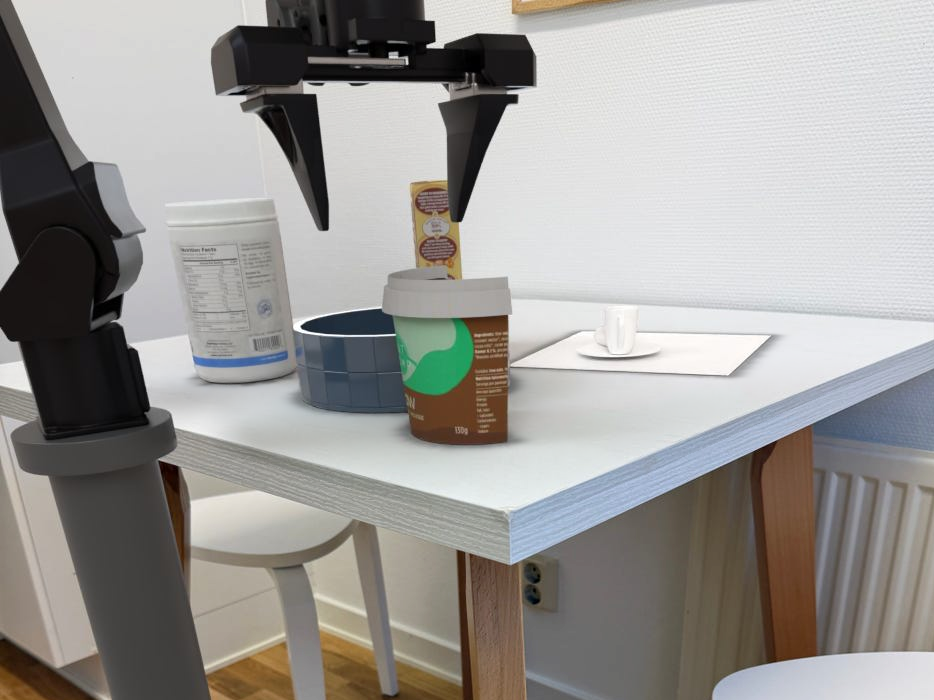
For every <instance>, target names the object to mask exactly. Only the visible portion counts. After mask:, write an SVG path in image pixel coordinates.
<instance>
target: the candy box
mask: <svg viewBox="0 0 934 700" xmlns="http://www.w3.org/2000/svg"><path fill="white" fill-rule="evenodd" d="M409 195H410V196H409V197H410V209H411V225H412V238H413V251H414V261H415V262H414V263H415V264H414V265H415V268H422V267H431V266H443V265H446V266H447V276H448V280H458V279H463V268H462V253H461V252H462V251H461V250H462V249H461V237H460V236H461V235H460V222H458V223H455V222H451V220H450V214H449V206H448V196H447V179H432V180H431V179H430V180H423V181H421V180H420V181H415V182H413V181H412V182H411V183H409Z"/></svg>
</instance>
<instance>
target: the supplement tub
mask: <svg viewBox="0 0 934 700" xmlns="http://www.w3.org/2000/svg"><path fill="white" fill-rule="evenodd" d="M164 211H165V212H164V213H165V216H166V217H165V218H166V221H165V224H166V226H167V228H166V229H167V235H168V239H169V245H170V250H171V255H172V259H173V265H174V270H175V274H176V280H177V285H178V289H179V295H180V302H181V305H182V310H183V315H184V320H185V325H186V330H187V335H188V340H189V345H190V351H191V356H192V360H193V364H194V369H195V373H196V374H197V376H198V377H200V378H201V379H202V380H204V381H207V382H210V383H218V384H242V383H243V384H244V383H253V382H261V381H267V380H272V379H276V378H277V379H278V378H280V377H284V376H287V375H289V374H291V373H292V372H294V371H295V370H296V369H297V363H296V356H295V349H294V341H293V334H292V326H293V325H294V321H293V313H292V306H291V300H290V292H289V287H288V286H289V285H288V279H287V272H286V271H287V270H286V264H285V258H284V257H285V256H284V249H283V243H282V236H281V229H280V222H279V220H278V218H279V217H278V214H277V212H276V211H277V210H276V205H275V200H274V198H273V197H243V198H241V197H240V198H225V199H224V198H223V199H210V200H193V201H179V202H170V203H165V204H164Z"/></svg>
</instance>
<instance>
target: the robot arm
mask: <svg viewBox="0 0 934 700" xmlns="http://www.w3.org/2000/svg"><path fill="white" fill-rule="evenodd" d="M264 3H265V11H266V20H267V25H245V24H244V25H243V24H242V25H241V24H238V25H236V26H235V27H233V28H231V29H230V30H228V31H227V32H225V33H223V34H222V35H220V36H219V37H218V38H217V39H216V41H215V42H214V43H213V46H212V47H211V49H210V66H211V67H210V68H211V73H212V80H213V85H214V86H213V87H214V93H215V96H220V97H245V98H246V100H244V101H242V102H241V101H240V103H239V106H240V109H241V111H242V113H244V114H255V115H257V117H259V118H260V120H261V121H262V122H263V123H264V125H265V126H266V127H267V128H268V129H269V131H270V132H271V133H272V135H273V137H274V138H275V140H276V142H277V143H278V146H279V147H280V149H281V151H282V153H283V155H284V156H285V158H286V161H287V163H288V164H289V166H290V169H291V171H292V174H293V176H294V178H295V180H296V183H297V185H298V187H299V190H300V192H301V194H302V197H303V199H304V201H305V204H306V206H307V209H308V210H309V213H310V215H311V217H312V220H313V222H314V224H315V227H316V229H317V231H318V232H328V231H329V230H330V201H329V191H328V182H327V175H326V174H327V173H326V164H325V157H324V156H325V155H324V148H323V140H322V138H323V137H322V131H321V130H322V129H321V122H320V121H321V120H320V112H319V104H318V103H319V102H318V96H317V95H318V94H317V93H305V89H304V83H305V84H308V85H310V86H312V87H313V86H314V87H323V86H324V85H325V84H348V85H350V86H351V87H363V86H367V85H369V84H441V85H442V87H444V89H445V90H446V91H447V93H448V97H449V100H447V101H441V102H438V103H437V106H438V110H439V113H440V115H441V116H440V117H441V119H442V121H443V124H444V127H445V132H446V180H447V196H448V206H449V214H450V220H451V222H455V223H458V222H459V223H462V222H463V221H464V219H465V216H466V212H467V209H468V206H469V203H470V200H471V198H472V194H473V191H474V188H475V185H476V183H477V179H478V177H479V174H480V171H481V168H482V165H483V162H484V159H485V157H486V155H487V151H488V149H489V147H490V145H491V142H492V140H493V138H494V135H495V133H496V132H497V129H498V127H499V124H500V122H501V120H502V119H503V116H504V114H505V111H506V109H507V107H510V106H516V105H518V104H519V102H520V101H519V99H520V95H519V94H518V93H515V92H520V91H524V90H531V89H535V88H538V85H537V84H538V82H537V80H538V78H537V77H538V76H537V74H538V72H537V69H538V68H537V67H538V65H537V55H536V53H535V51H534V49H533V47H532V45H531V43H530V41H529V39H528V37H527V35H526V34H517V33H516V34H515V33H514V34H513V33H487V32H485V33H483V32H476V33H473V34H469V35H467V36H465V37H461V38H458V39H454V40H452V41H449V42H446V43H444V44H443V47H438V48H437V47H428V45H431V44H435V43H436V42H437V36H436V20H426V9H425V0H265V2H264ZM20 19H21V18H20V17H19V15H18V12H17V10H16V7H15V5H14V3H13V1H12V0H0V201H1V202H0V203H1V210H2V213H3V216H4V217H3V218H4V220H5V224H6V226H7V230H8V233H9V236H10V239H11V242H12V246H13V249H14V252H15V255H16V258H17V261H18V263H17V265H16V266H15V268H14V269H13V271H12V272H11V274H10V275H9V277H8V278H7V280H6V281H5V282H4V284H3V286H2V287H1V289H0V330H1V332H2V333H3V334H4V336H5V338H7V340H8V341H9V342H12V343H17V345H18V349H19V353H20V356H21V357H20V358H21V360H22V363H23V368H24V371H25V374H26V378H27V381H28V384H29V388H30V391H31V396H32V399H33V402H34V406H35V410H36V414H37V415H36V416H35V420H37V423H38V426H39V428H40V430H41V432H42V435H43V437H44V439H45V440H57V439H63V438H70V437H76V436H82V435H89V434H95V433H101V432H108V431H114V430H121V429H127V428H133V427H140V426H146V425H149V424H150V422H149V417H148V416H147V415H146V414H145V413H146V412H149V410H150V409H151V408H150V407H151V404H150V399H149V395H148V390H147V386H146V385H147V384H146V381H145V377H144V372H143V368H142V362H141V359H140V354H139V350H138V349H136V348H135V347H133V345H131V344H129V343H127V338H126V334H125V329H124V325H122V324H120V323H119V322H117V321H118V320H120V319H121V318H122V313H123V306H124V298H125V293H126V292H129V290H131V288H132V287H133V286H134V285H135V283H136V282H137V281H138V278H139V275H140V273H141V271H142V268H143V264H144V252H143V248H142V244H141V240H140V238H139V236H138V235H140V234H144V233H146V232H147V228H146V227H145V225H144V224H143V223H142V222H141V221H140V220H139V218H138V217H137V216H136V214H135V212H134V210H133V208H132V206H131V204H130V202H129V201H130V200H129V199H128V195H127V192H126V191H127V190H126V187H125V183H124V180H123V176H122V173H121V171H120V169H119V168H120V167H119V165H118V164H116V163H112V162H102V161H92V160H91V161H90V160H89V159H88V158H87V156H86V155H85V154H84V152H83V151H82V150H81V149H80V147H79V146H78V144H77V143H76V142H75V141H74V139H73V137H72V136H71V134H70V132H69V130H68V128H67V125H66V123H65V121H64V119H63V116H62V114H61V112H60V109H59V107H58V104H57V102H56V100H55V98H54V96H53V93H52V91H51V88H50V86H49V84H48V82H47V79H46V77H45V74H44V72H43V70H42V68H41V66H40V63H39V61H38V58H37V57H36V54H35V51H34V49H33V47H32V45H31V42H30V40H29V37H28V35H27V33H26V31H25V29H24V26H23V23H22V22H21V20H20ZM394 57H395V58H394ZM396 57H397V58H396Z"/></svg>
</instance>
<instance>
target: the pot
mask: <svg viewBox="0 0 934 700" xmlns="http://www.w3.org/2000/svg"><path fill="white" fill-rule="evenodd" d="M509 322H510V321H509V320H508V388H509V387H510V386H511V367H510V364H511V356H510V355H511V354H510V327H509V326H510V324H509ZM292 334H293V341H294V349H295V356H296V363H297V366H296V369H297V376H298V383H299V390H300V394H301V399H302V400H303V402H304V403H306V404H308V405H310V406H313V407H315V408H319V409H323V410H328V411H337V412H346V413H361V414H363V413H364V414H366V413H367V414H386V413H406V412H407V413H408V409H407V403H406V397H405V390H404V384H403V378H402V371H401V365H400V359H399V353H398V346H397V340H396V334H395V327H394V321H393V315H390V314H386V313H384V312H382V306H381V307H370V308H362V309H352V310H345V311H339V312H333V313H327V314H323V315H317V316H312V317H309V318H305V319H303V320H300V321H297V322H296V323H293V326H292Z"/></svg>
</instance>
